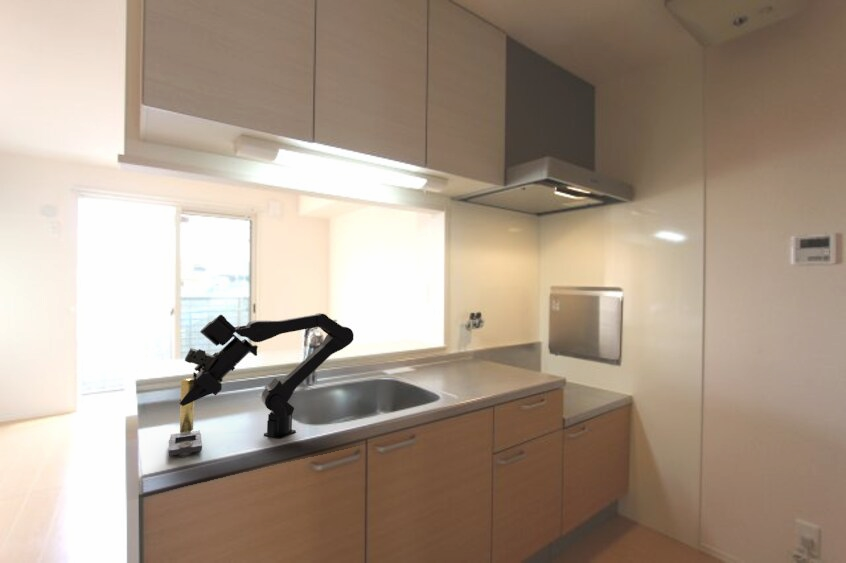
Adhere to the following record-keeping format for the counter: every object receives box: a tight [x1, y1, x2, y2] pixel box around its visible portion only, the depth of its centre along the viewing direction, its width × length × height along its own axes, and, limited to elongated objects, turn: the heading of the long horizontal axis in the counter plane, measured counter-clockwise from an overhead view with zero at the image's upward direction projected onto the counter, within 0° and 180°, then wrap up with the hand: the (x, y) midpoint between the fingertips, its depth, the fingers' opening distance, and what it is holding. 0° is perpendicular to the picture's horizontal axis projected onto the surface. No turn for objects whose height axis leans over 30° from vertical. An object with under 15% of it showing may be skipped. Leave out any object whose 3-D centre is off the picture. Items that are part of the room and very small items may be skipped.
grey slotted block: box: [168, 430, 203, 458], centre depth 105 cm, size 17×7×3 cm, turn 31°
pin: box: [179, 378, 195, 433], centre depth 104 cm, size 3×3×13 cm
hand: (181, 403), depth 104 cm, fingers closed on pin, 3 cm apart
